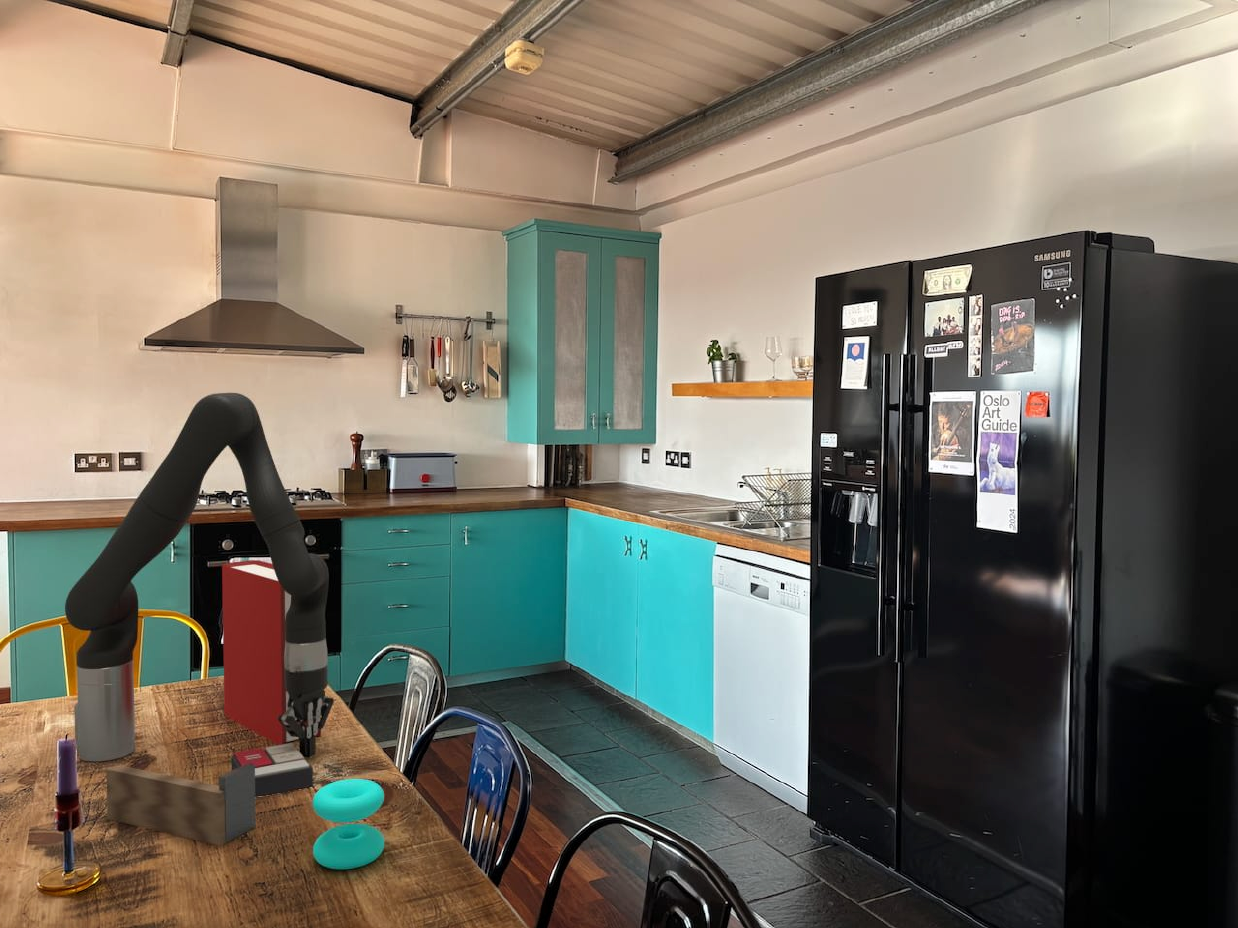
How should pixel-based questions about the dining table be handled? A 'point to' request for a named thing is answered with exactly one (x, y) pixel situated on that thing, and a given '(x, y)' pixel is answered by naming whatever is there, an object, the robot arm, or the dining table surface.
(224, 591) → the book
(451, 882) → the dining table surface
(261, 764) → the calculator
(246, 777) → the bookend
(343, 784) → the donuts
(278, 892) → the dining table surface
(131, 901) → the dining table surface
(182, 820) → the mottled stone block
